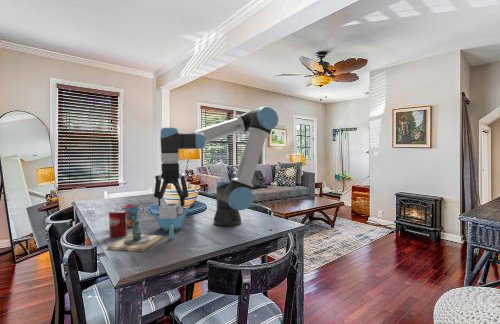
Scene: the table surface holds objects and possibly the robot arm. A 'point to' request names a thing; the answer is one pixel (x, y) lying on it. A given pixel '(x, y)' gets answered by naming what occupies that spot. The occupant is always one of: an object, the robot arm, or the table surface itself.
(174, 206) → the white square bowl
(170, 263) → the table surface
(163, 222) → the teapot
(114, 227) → the soda can
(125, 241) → the peg stand
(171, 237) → the stand rod
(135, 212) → the mug
